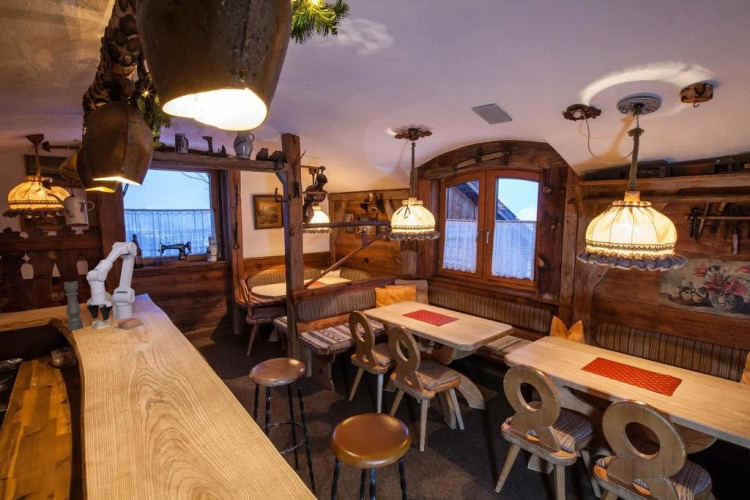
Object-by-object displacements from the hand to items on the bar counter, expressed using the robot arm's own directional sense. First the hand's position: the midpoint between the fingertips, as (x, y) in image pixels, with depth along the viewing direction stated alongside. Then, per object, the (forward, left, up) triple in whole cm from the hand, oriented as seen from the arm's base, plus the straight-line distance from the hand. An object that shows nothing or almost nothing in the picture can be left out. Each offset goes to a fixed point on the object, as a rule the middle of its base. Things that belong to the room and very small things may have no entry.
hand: (100, 318), depth 194 cm
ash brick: (0, 0, -6) cm, 6 cm away
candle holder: (-15, -3, -6) cm, 16 cm away
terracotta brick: (+12, +6, -4) cm, 14 cm away
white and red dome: (-40, +29, -6) cm, 50 cm away
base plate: (+12, +6, -6) cm, 15 cm away
